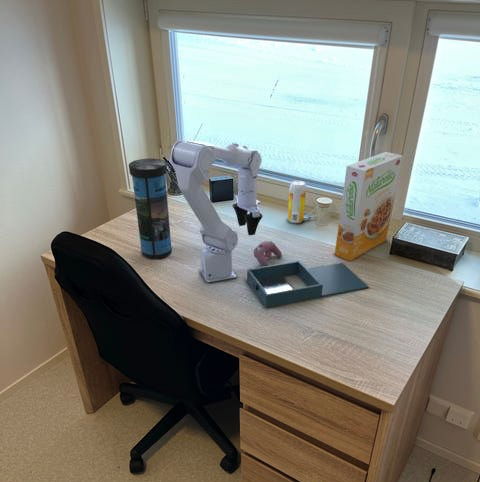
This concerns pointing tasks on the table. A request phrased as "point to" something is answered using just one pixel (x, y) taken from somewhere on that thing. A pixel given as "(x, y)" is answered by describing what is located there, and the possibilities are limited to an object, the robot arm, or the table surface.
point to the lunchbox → (317, 279)
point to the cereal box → (367, 204)
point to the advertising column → (152, 207)
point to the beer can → (296, 201)
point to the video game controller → (266, 252)
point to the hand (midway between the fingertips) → (246, 229)
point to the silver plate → (275, 285)
